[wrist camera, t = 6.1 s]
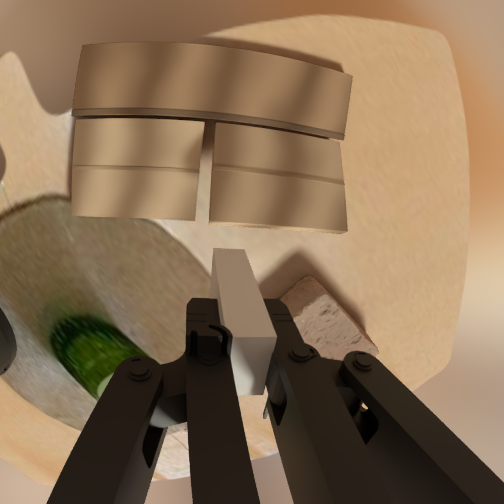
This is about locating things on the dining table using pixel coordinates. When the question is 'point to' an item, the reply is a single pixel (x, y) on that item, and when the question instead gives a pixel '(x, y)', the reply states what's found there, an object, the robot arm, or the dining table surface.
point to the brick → (325, 321)
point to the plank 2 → (276, 180)
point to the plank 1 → (136, 168)
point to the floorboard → (211, 86)
